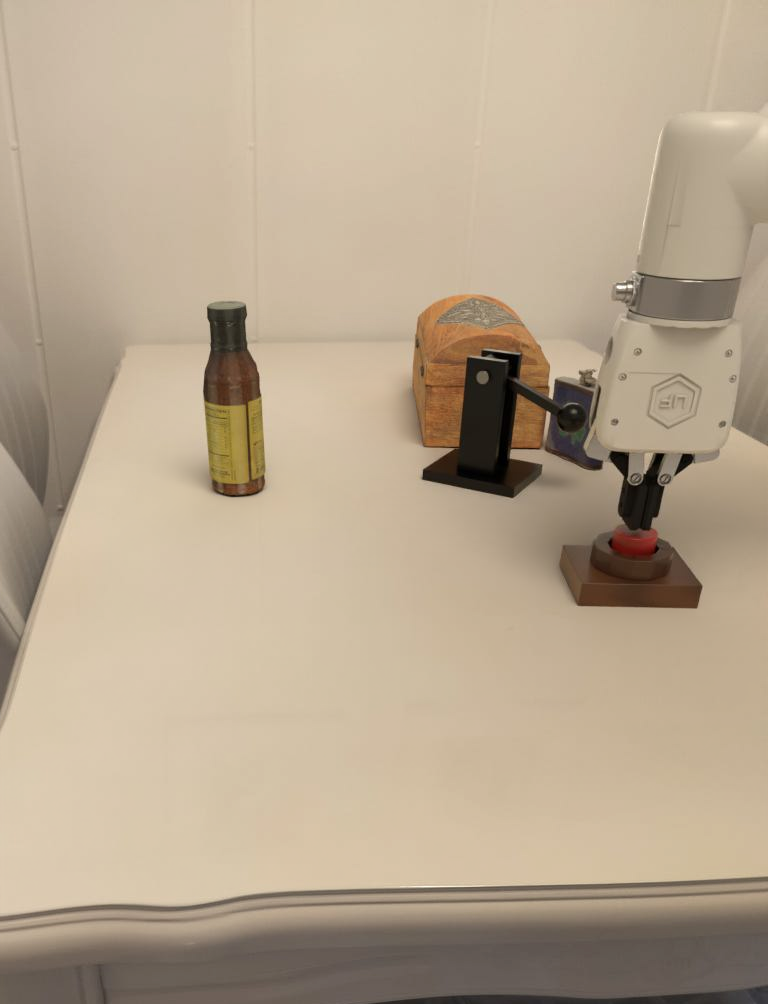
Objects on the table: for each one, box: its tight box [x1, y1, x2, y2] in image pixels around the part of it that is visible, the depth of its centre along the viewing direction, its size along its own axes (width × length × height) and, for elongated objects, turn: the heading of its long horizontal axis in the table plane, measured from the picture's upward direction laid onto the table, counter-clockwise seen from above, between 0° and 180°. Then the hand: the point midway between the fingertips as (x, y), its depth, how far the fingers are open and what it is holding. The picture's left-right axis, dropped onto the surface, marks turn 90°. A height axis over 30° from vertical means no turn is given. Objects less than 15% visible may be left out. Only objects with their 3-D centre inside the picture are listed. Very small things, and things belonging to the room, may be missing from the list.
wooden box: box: [412, 294, 551, 449], centre depth 124 cm, size 30×16×14 cm, turn 175°
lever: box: [486, 354, 588, 434], centre depth 99 cm, size 13×3×3 cm, turn 57°
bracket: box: [421, 349, 543, 499], centre depth 103 cm, size 11×9×14 cm
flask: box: [545, 368, 604, 471], centre depth 109 cm, size 9×3×11 cm, turn 24°
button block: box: [558, 530, 703, 609], centre depth 80 cm, size 10×8×4 cm
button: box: [611, 523, 659, 556], centre depth 79 cm, size 4×4×2 cm
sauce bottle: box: [202, 300, 266, 496], centre depth 98 cm, size 7×6×20 cm
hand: (635, 524), depth 78 cm, fingers closed
